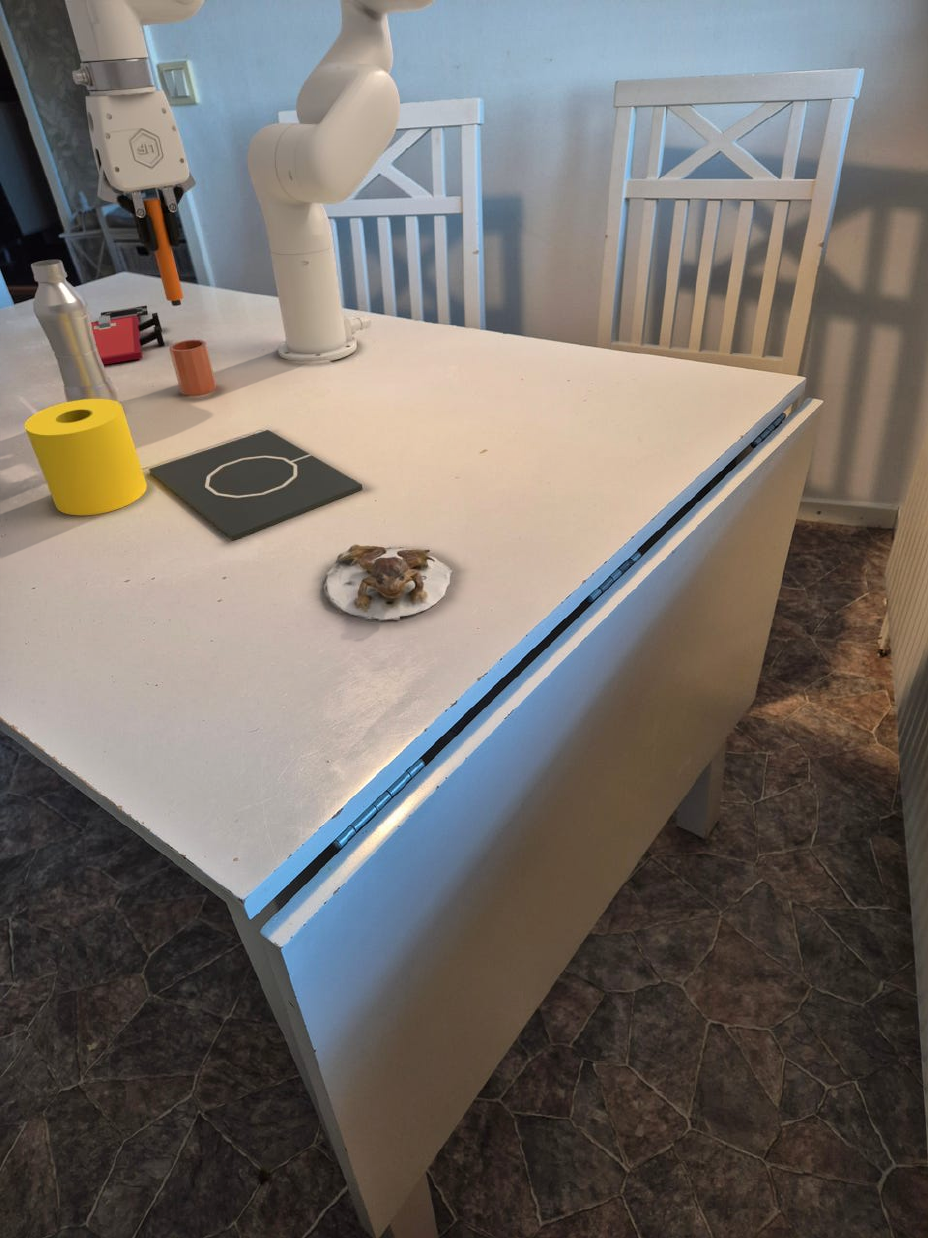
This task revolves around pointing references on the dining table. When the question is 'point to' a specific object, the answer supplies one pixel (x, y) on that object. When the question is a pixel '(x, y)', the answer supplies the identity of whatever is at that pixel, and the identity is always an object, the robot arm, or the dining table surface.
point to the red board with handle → (124, 334)
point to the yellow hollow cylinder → (87, 456)
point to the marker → (164, 252)
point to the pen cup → (193, 367)
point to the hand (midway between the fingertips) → (162, 245)
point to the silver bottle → (70, 334)
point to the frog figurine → (385, 582)
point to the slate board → (253, 483)
